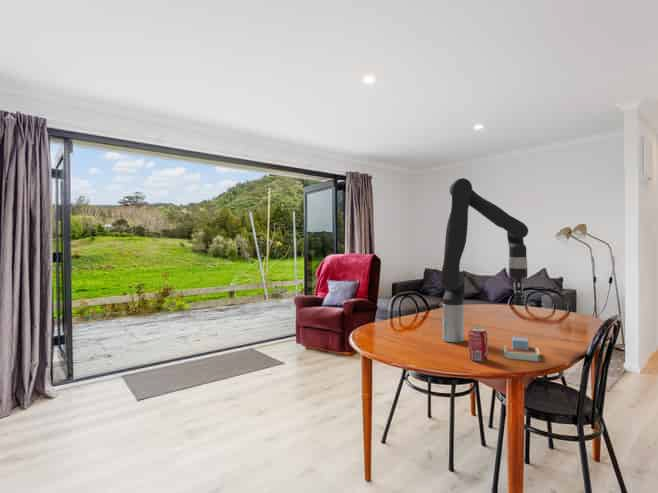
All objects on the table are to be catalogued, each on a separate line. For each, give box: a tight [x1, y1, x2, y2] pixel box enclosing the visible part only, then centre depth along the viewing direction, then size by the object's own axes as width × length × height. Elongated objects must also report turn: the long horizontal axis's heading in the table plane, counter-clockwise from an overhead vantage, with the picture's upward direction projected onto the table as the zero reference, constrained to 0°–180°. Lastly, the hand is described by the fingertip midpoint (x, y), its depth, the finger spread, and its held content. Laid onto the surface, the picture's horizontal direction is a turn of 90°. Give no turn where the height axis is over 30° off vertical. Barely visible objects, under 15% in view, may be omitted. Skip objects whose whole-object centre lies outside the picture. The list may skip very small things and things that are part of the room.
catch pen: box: [503, 344, 541, 362], centre depth 153 cm, size 13×11×2 cm
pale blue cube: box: [511, 336, 530, 351], centre depth 164 cm, size 6×6×4 cm
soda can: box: [467, 327, 489, 363], centre depth 149 cm, size 7×7×12 cm
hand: (518, 303), depth 172 cm, fingers open, 6 cm apart
